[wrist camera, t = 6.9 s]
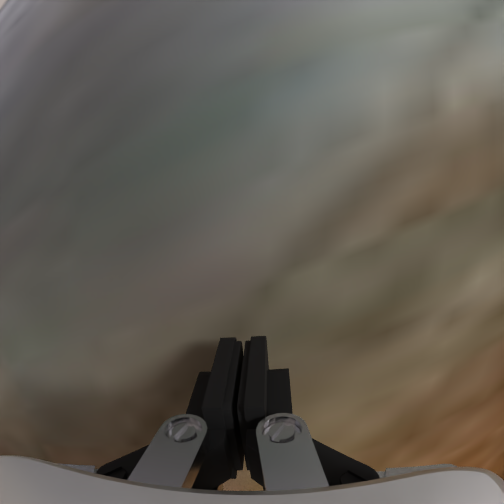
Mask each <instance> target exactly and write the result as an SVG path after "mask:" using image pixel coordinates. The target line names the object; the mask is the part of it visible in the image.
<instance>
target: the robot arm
mask: <svg viewBox="0 0 504 504" xmlns="http://www.w3.org/2000/svg"><path fill="white" fill-rule="evenodd" d="M244 455H245V461H246V467H247V470H250V473H251V478H252V479H253V480H255V481H256V482H257V483H259V484H260V485H261V486H263V491H223V483H224V482H226V481H227V480H229V479H236V475H237V470H243V462H244ZM0 504H504V480H503V479H502V478H500V477H499V476H498V475H497V474H495V473H493V472H492V471H489V470H486V469H483V468H476V467H457V466H454V465H452V464H439V465H429V466H418V467H403V468H386V470H385V472H376V471H375V470H374V469H372V468H371V467H369V466H367V465H365V464H363V463H361V462H359V461H356V460H354V459H352V458H350V457H348V456H346V455H344V454H342V453H340V452H338V451H336V450H334V449H332V448H330V447H328V446H326V445H324V444H322V443H320V442H318V441H316V440H314V439H312V438H311V435H310V432H309V430H308V427H307V424H306V423H305V421H304V420H303V419H302V418H300V417H299V416H296V415H294V414H292V402H291V391H290V379H289V369H273V370H269V365H268V353H267V340H266V336H256V337H251V341H246V342H245V349H244V356H243V348H242V342H241V341H236V338H220V341H219V345H218V349H217V352H216V356H215V360H214V363H213V367H212V370H211V372H200V373H199V375H198V378H197V381H196V384H195V387H194V390H193V393H192V396H191V399H190V403H189V406H188V409H187V412H186V414H182V415H176V416H174V417H171V418H169V419H168V420H166V421H165V422H164V423H163V424H162V425H161V427H160V428H159V430H158V432H157V433H156V435H155V436H154V438H153V440H152V441H151V443H150V444H149V445H147V446H145V447H143V448H141V449H139V450H137V451H135V452H132V453H130V454H128V455H126V456H123V457H121V458H119V459H116V460H114V461H112V462H109V463H107V464H105V465H103V466H102V467H100V468H99V469H97V468H96V467H95V466H86V465H69V464H57V463H53V462H49V461H45V460H41V459H36V458H32V457H25V456H17V455H4V456H0Z"/></svg>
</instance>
